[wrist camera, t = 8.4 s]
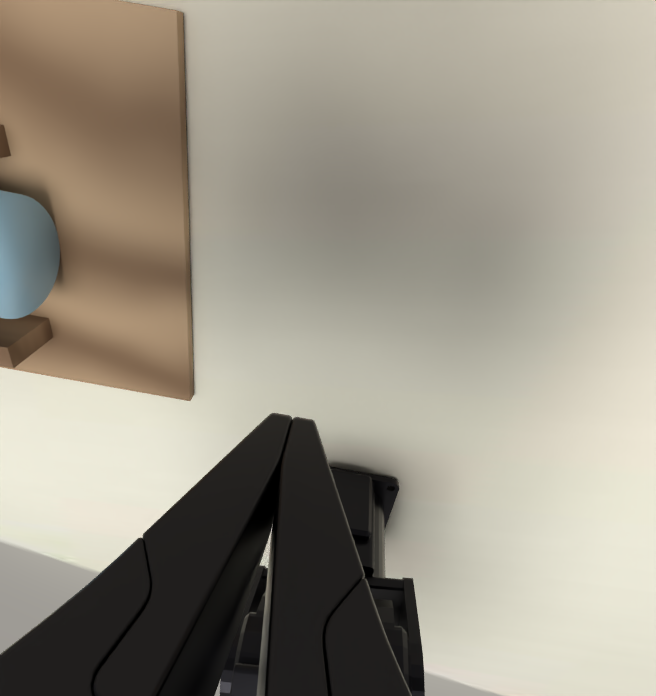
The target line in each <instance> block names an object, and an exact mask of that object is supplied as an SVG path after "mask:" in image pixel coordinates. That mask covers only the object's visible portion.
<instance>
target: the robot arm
mask: <svg viewBox="0 0 656 696" xmlns="http://www.w3.org/2000/svg"><path fill="white" fill-rule="evenodd" d="M398 491H399V483H398V481H397V480H396V479H393V478H388V477H383V476H377V475H372V474H366V473H361V472H355V471H350V470H344V469H338V468H333V467H329V463H328V460H327V457H326V454H325V451H324V448H323V445H322V442H321V439H320V436H319V433H318V430H317V427H316V424H315V422H314V421H313V420H311V419H306V418H300V417H295V418H293V420H292V417H291V416H289V415H283V414H278V413H272V414H270V415H269V416H268V417H267V418H266V419H265V420H264V421H262V422H261V423H260V424H259V425H258V426H257V427H256V428H255V429H254V430H253V431H252V432H251V433H250V434H249V435H248V436H247V437H245V438H244V439H243V440H242V441H241V442H240V443H239V444H238V445H237V446H236V447H235V448H234V449H233V450H232V451H231V452H230V453H229V454H227V455H226V456H225V457H224V458H223V459H222V460H221V461H220V462H219V463H218V464H217V465H216V466H215V467H214V468H213V469H212V470H210V471H209V472H208V473H207V474H206V475H205V476H204V477H203V478H202V479H201V480H200V481H199V482H198V483H197V484H196V485H195V486H194V487H192V488H191V489H190V490H189V491H188V492H187V493H186V494H185V495H184V496H183V497H182V498H181V499H180V500H179V501H178V502H177V503H175V504H174V505H173V506H172V507H171V508H170V509H169V510H168V511H167V512H166V513H165V514H164V515H163V516H162V517H161V518H160V519H159V520H157V521H156V522H155V523H154V524H153V525H152V526H151V527H150V528H149V529H148V530H147V531H146V532H145V533H144V534H143V538H138V539H137V540H136V541H135V542H134V543H133V544H132V545H131V546H130V547H129V548H127V549H126V550H125V551H124V552H123V553H122V554H121V555H120V556H119V557H118V558H117V559H116V560H115V561H113V562H112V563H111V564H110V565H109V566H108V567H107V568H106V569H105V570H103V571H102V572H101V573H100V574H99V575H98V576H97V577H96V578H94V579H93V580H92V581H91V582H90V583H89V584H88V585H87V586H85V587H84V588H83V589H82V590H80V591H79V592H78V593H77V594H75V595H74V596H73V597H72V598H71V599H69V600H68V601H67V602H66V603H64V604H63V605H62V606H61V607H60V608H58V609H57V610H56V611H55V612H53V613H52V614H51V615H50V616H49V617H47V618H46V619H45V620H43V621H42V622H41V623H40V624H38V625H37V626H36V627H34V628H33V629H32V630H31V631H29V632H28V633H27V634H25V636H23V637H22V638H20V639H19V640H18V641H17V642H15V643H14V644H13V645H11V646H10V647H9V648H8V649H6V650H5V651H4V652H3V653H1V654H0V696H214V695H215V692H216V689H217V687H218V684H219V681H220V678H221V682H220V696H425V695H424V692H425V690H424V666H423V653H422V644H421V636H420V629H419V621H418V614H417V606H416V598H415V591H414V583H413V578H403V579H391V578H385V537H384V530H385V527H386V524H387V522H388V519H389V516H390V513H391V510H392V508H393V505H394V502H395V499H396V496H397V493H398ZM272 524H273V526H272ZM271 528H272V534H271V542H270V553H269V564H268V568H266V567H265V566H260V562H261V559H262V556H263V553H264V550H265V547H266V544H267V541H268V538H269V535H270V532H271Z"/></svg>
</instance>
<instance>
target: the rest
mask: <svg viewBox="0 0 656 696" xmlns="http://www.w3.org/2000/svg"><path fill="white" fill-rule="evenodd" d="M0 190H2V191H7V192H12V193H17V194H22V195H25V196H29V197H31V198H33V199H34V200H36V201H37V202H39V203H40V204H41V205H42V206H43V207H44V208H45V209H46V211H47V212H48V213H49V215H50V217H51V218H52V220H53V222H54V225H55V227H56V230H57V234H58V239H59V245H60V261H59V269H58V273H57V277H56V280H55V283H54V286H53V288H52V290H51V292H50V293H49V295H48V297H47V298H46V299H45V301H44V302H43V303H42V304H41V305H40V306H39V307H38V308H37V309H36V310H35V311H33V312H32V313H30V314H29V315H26V316H24V317H21V318H18V319H4V318H0V367H3V368H8V369H14V370H20V371H25V372H31V373H36V374H42V375H47V376H53V377H59V378H64V379H70V380H75V381H81V382H87V383H92V384H98V385H103V386H109V387H114V388H120V389H126V390H131V391H137V392H142V393H148V394H153V395H159V396H165V397H170V398H176V399H181V400H187V401H190V400H191V399H192V397H193V395H194V381H193V345H192V310H191V275H190V240H189V204H188V169H187V134H186V98H185V63H184V28H183V13H182V12H179V11H176V10H170V9H165V8H159V7H153V6H147V5H142V4H136V3H130V2H124V1H118V0H0Z"/></svg>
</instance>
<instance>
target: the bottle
mask: <svg viewBox="0 0 656 696" xmlns="http://www.w3.org/2000/svg"><path fill="white" fill-rule="evenodd" d="M59 261H60V245H59V239H58V234H57V230H56V227H55V225H54V222H53V220H52V218H51V217H50V215H49V213H48V212H47V211H46V209H45V208H44V207H43V206H42V205H41V204H40V203H39V202H37V201H36V200H34V199H33V198H31V197H29V196H25V195H22V194H17V193H12V192H7V191H2V190H0V318H4V319H18V318H21V317H24V316H26V315H29V314H30V313H32V312H33V311H35V310H36V309H37V308H38V307H39V306H40V305H41V304H42V303H43V302H44V301H45V299H46V298H47V297H48V295H49V293H50V292H51V290H52V288H53V286H54V283H55V280H56V277H57V273H58V269H59Z"/></svg>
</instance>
